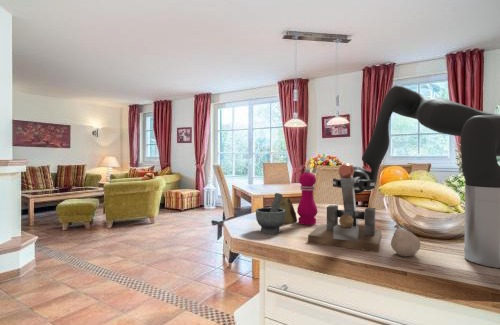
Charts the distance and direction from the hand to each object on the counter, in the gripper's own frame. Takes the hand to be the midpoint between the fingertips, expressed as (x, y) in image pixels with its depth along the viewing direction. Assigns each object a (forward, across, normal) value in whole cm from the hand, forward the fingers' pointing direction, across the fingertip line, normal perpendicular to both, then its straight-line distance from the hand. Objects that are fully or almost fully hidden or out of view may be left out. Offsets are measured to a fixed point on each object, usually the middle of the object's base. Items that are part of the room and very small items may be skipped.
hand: (348, 185), depth 81 cm
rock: (-16, -26, +16) cm, 35 cm away
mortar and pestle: (-1, -24, +16) cm, 29 cm away
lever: (-5, 0, +13) cm, 14 cm away
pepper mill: (-18, -17, +16) cm, 29 cm away
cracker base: (-2, -1, +16) cm, 16 cm away
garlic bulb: (+6, +14, +16) cm, 22 cm away
